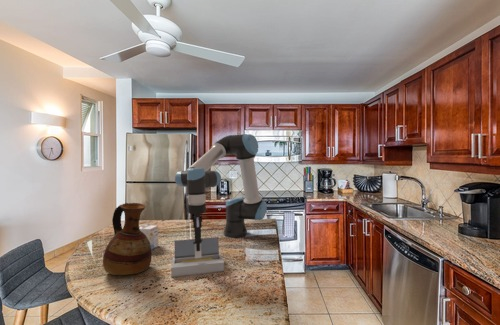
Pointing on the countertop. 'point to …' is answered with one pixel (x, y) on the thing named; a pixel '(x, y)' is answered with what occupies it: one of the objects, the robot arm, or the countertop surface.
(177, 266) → the open grey pill case
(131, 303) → the countertop surface
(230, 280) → the countertop surface
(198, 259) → the yellow pill capsule
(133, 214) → the ceramic pitcher
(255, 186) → the robot arm
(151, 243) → the ink box
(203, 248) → the cover
